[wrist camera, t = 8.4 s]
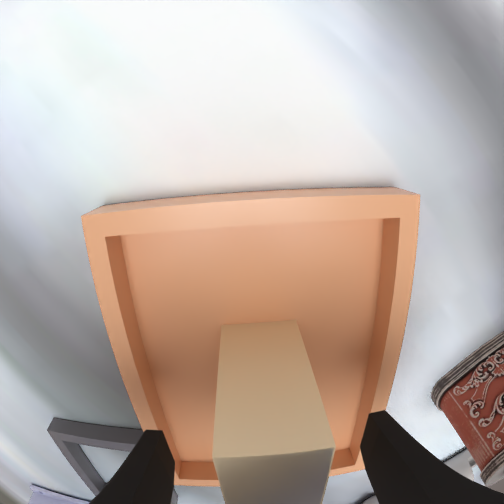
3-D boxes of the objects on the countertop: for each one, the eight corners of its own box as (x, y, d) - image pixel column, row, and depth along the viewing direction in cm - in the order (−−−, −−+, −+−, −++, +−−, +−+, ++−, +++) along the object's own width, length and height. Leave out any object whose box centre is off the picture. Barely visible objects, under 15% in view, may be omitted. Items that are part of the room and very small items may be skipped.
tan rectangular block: (232, 410, 14) (232, 526, 8) (221, 324, 13) (212, 457, 6) (294, 405, 14) (317, 519, 8) (296, 319, 13) (336, 446, 7)
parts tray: (172, 460, 16) (168, 484, 14) (103, 205, 12) (81, 216, 10) (357, 445, 17) (365, 468, 15) (395, 187, 12) (419, 194, 10)
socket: (100, 486, 18) (96, 497, 17) (53, 417, 15) (47, 430, 14) (177, 496, 18) (176, 508, 17) (145, 429, 15) (141, 444, 14)
